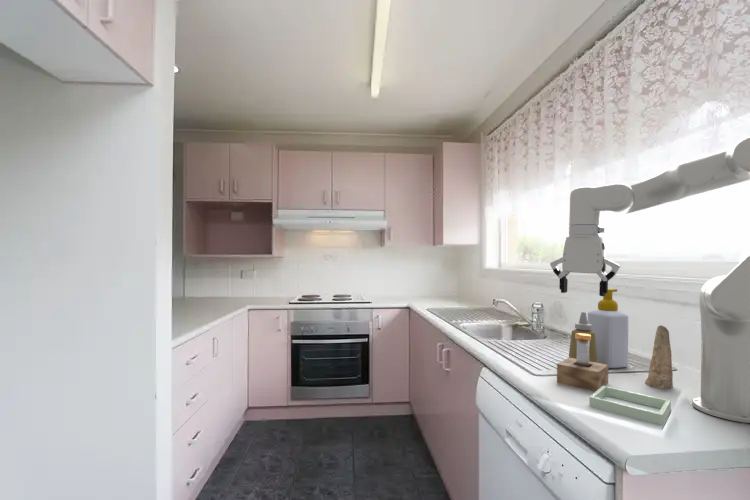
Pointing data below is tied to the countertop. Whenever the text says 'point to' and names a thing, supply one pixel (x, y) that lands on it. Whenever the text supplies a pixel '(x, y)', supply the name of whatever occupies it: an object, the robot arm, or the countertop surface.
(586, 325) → the squeeze bottle
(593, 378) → the socket block
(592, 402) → the tray
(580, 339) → the pin
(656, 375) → the tapered stone wedge
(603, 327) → the soap bottle
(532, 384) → the countertop surface
